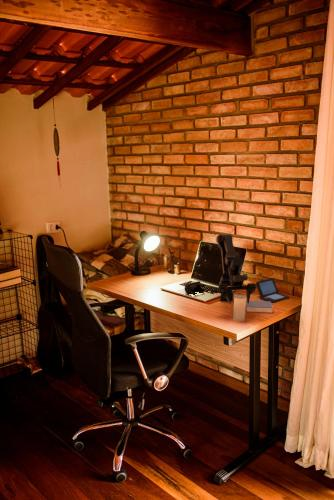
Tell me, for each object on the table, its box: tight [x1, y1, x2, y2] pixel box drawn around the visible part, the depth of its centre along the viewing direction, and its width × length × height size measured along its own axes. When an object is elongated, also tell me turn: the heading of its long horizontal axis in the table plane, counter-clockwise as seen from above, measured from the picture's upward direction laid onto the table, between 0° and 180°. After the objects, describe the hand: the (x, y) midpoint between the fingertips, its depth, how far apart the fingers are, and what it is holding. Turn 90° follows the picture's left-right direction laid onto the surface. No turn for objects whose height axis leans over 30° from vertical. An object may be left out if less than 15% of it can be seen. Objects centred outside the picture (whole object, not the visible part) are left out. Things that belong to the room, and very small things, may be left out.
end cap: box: [184, 281, 206, 295], centre depth 273 cm, size 10×7×7 cm
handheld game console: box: [255, 278, 290, 304], centre depth 267 cm, size 16×13×9 cm
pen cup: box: [232, 292, 247, 323], centre depth 233 cm, size 6×6×13 cm
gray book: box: [245, 299, 274, 314], centre depth 249 cm, size 14×10×3 cm
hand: (239, 303), depth 233 cm, fingers open, 9 cm apart
